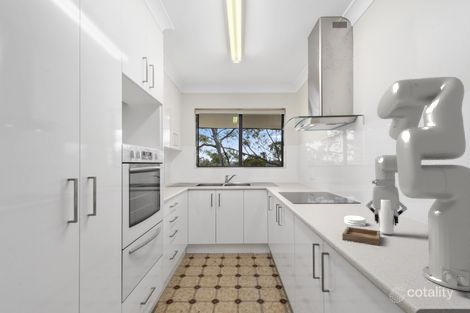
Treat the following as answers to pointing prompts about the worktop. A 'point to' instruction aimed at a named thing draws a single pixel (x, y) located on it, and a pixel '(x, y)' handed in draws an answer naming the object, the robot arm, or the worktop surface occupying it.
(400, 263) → the worktop surface
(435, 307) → the worktop surface
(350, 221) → the white cup lid
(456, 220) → the robot arm
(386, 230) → the white tall cup
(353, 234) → the tray
